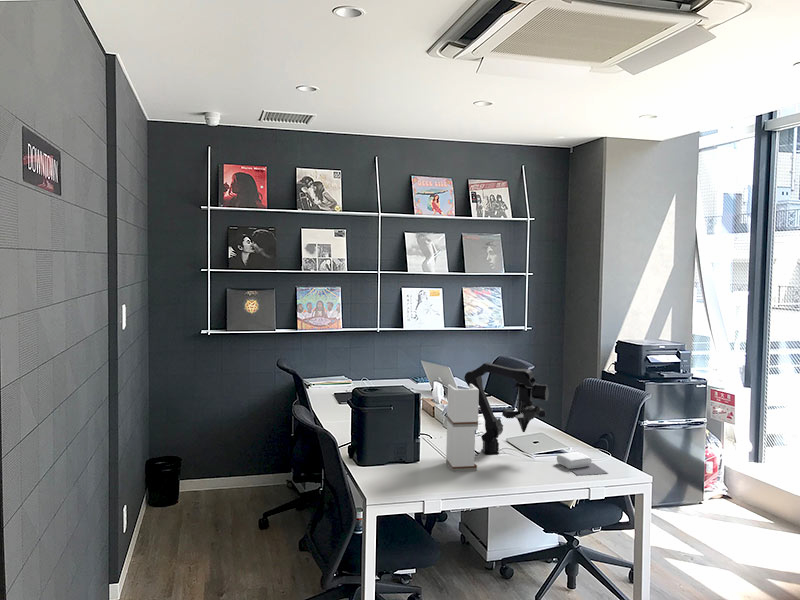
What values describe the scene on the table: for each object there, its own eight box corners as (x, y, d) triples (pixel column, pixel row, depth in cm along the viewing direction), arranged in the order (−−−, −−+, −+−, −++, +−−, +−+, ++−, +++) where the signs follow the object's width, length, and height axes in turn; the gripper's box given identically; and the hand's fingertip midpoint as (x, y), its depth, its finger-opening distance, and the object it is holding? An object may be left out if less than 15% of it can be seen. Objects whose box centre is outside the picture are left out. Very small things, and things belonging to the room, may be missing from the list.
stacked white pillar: (476, 470, 286) (478, 389, 283) (452, 471, 284) (454, 390, 281) (469, 461, 297) (471, 383, 294) (446, 462, 295) (447, 384, 292)
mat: (577, 475, 282) (577, 474, 282) (563, 465, 295) (563, 464, 295) (607, 473, 285) (608, 473, 285) (593, 463, 297) (593, 463, 297)
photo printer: (556, 453, 297) (579, 450, 302) (556, 462, 297) (578, 459, 302) (571, 460, 287) (594, 456, 292) (570, 470, 288) (594, 466, 293)
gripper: (511, 402, 292) (510, 438, 293) (551, 401, 296) (550, 436, 297) (502, 396, 303) (501, 430, 304) (541, 395, 306) (540, 429, 308)
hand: (523, 431), depth 303 cm, fingers closed
